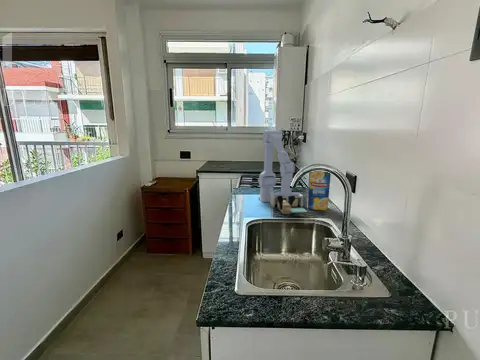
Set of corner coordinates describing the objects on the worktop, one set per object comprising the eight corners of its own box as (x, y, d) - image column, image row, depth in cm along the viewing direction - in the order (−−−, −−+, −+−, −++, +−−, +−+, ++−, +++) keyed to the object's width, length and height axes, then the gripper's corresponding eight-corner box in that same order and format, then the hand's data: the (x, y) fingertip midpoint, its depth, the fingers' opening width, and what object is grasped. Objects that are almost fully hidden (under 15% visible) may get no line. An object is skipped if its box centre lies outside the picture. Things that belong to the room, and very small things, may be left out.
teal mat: (287, 208, 153) (287, 207, 153) (302, 208, 154) (302, 207, 154) (291, 212, 146) (291, 211, 146) (307, 212, 147) (307, 211, 147)
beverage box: (327, 210, 152) (331, 171, 148) (307, 208, 154) (310, 170, 149) (325, 206, 159) (329, 169, 154) (306, 205, 160) (309, 169, 156)
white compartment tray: (269, 203, 162) (270, 193, 161) (298, 203, 165) (299, 192, 164) (272, 207, 156) (273, 196, 154) (302, 206, 158) (303, 195, 157)
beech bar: (277, 207, 155) (277, 199, 154) (284, 207, 156) (284, 199, 155) (283, 214, 144) (283, 205, 143) (290, 213, 144) (291, 205, 143)
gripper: (275, 186, 140) (274, 211, 142) (302, 186, 142) (300, 211, 144) (272, 184, 146) (270, 207, 149) (297, 183, 148) (296, 207, 151)
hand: (285, 209), depth 147 cm, fingers closed on beech bar, 4 cm apart
